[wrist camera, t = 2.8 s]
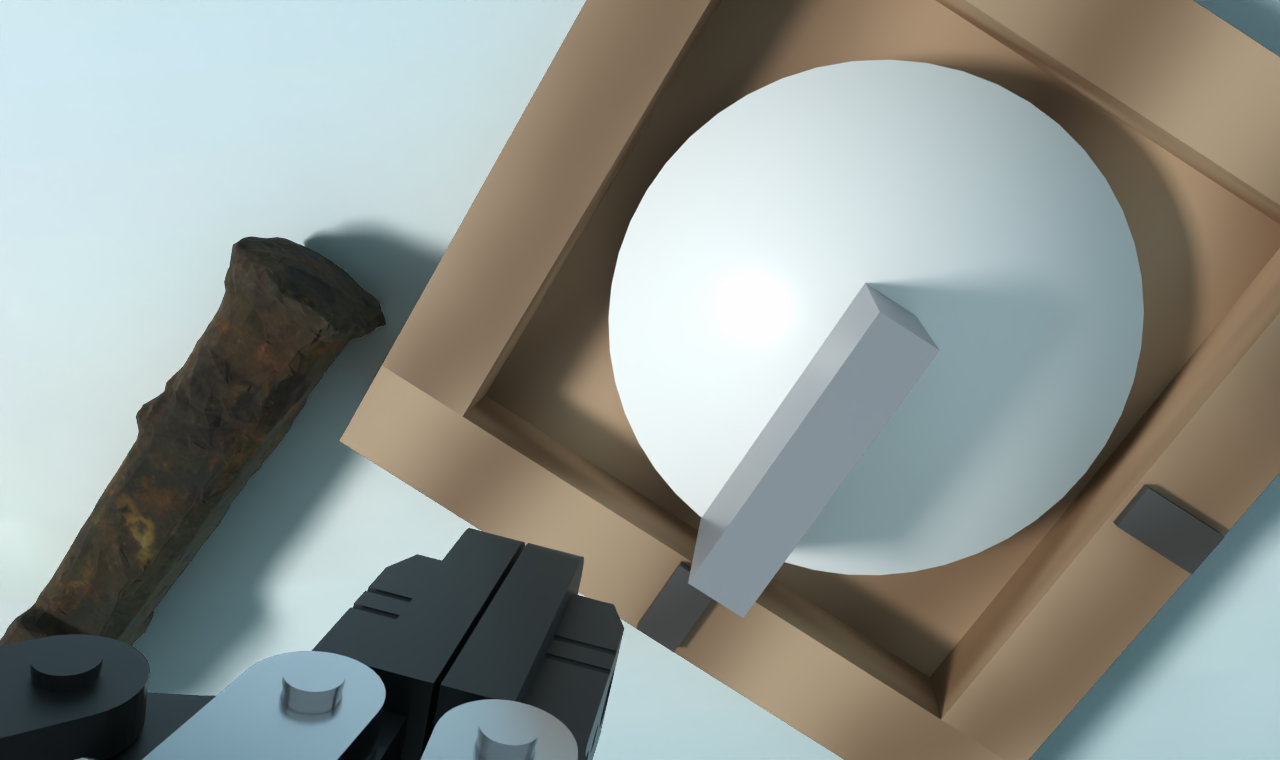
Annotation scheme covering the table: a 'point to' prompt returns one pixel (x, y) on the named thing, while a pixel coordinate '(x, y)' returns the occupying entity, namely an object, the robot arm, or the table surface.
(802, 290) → the dial
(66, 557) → the hand tool
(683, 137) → the wooden frame
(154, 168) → the table surface
